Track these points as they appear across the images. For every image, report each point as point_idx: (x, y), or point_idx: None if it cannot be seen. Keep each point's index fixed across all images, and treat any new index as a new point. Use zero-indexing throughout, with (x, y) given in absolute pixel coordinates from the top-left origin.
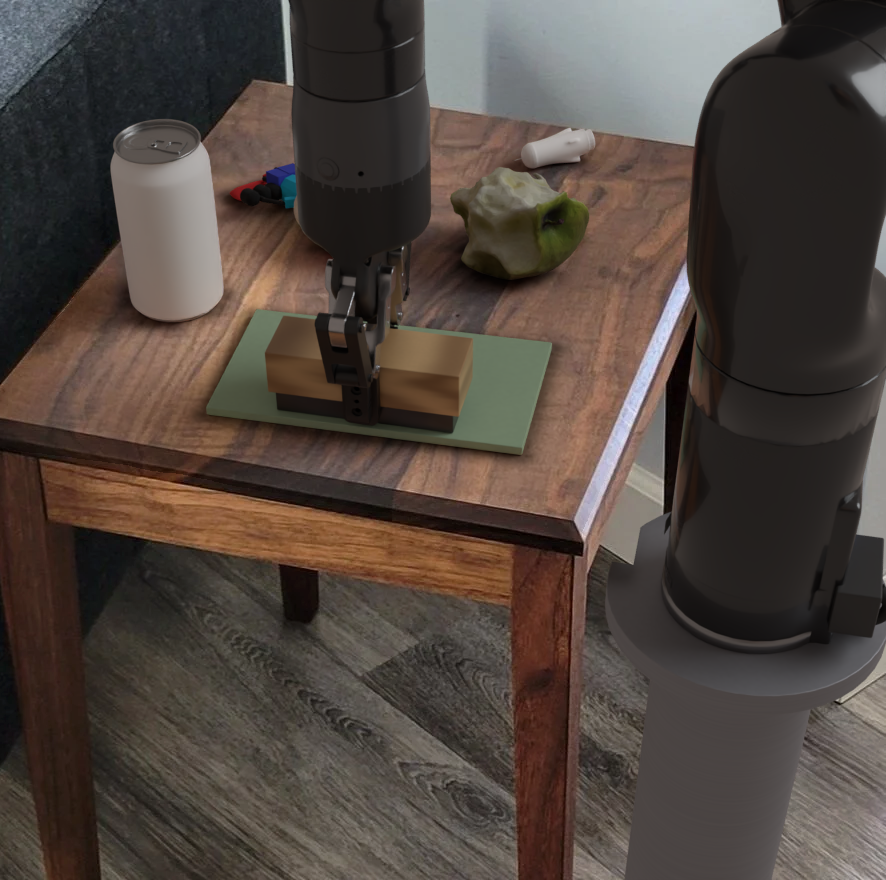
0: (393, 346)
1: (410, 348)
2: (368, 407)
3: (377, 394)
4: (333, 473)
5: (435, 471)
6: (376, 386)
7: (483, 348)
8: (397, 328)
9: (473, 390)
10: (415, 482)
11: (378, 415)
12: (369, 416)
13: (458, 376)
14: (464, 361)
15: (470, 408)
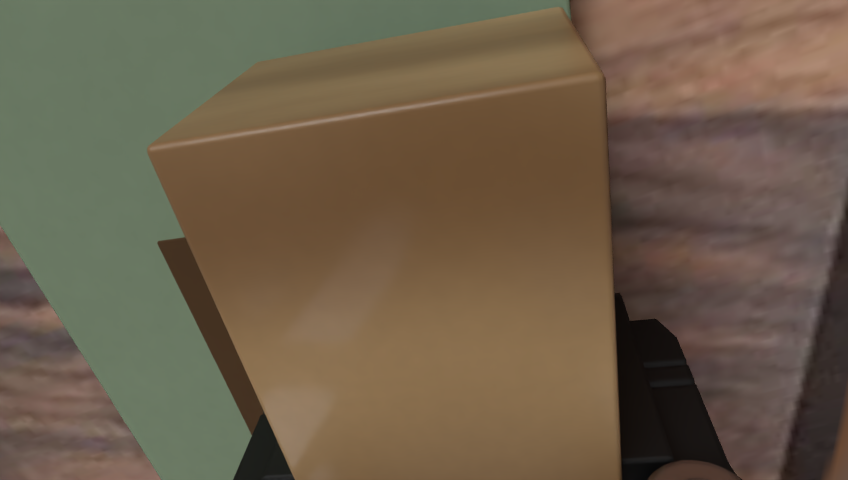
0: (436, 473)
1: (416, 410)
2: (681, 371)
3: (642, 380)
4: (796, 308)
5: (734, 4)
6: (660, 417)
7: (10, 112)
8: (269, 474)
9: (244, 50)
10: (816, 52)
11: (619, 309)
12: (660, 337)
13: (602, 79)
14: (406, 106)
15: (355, 15)
